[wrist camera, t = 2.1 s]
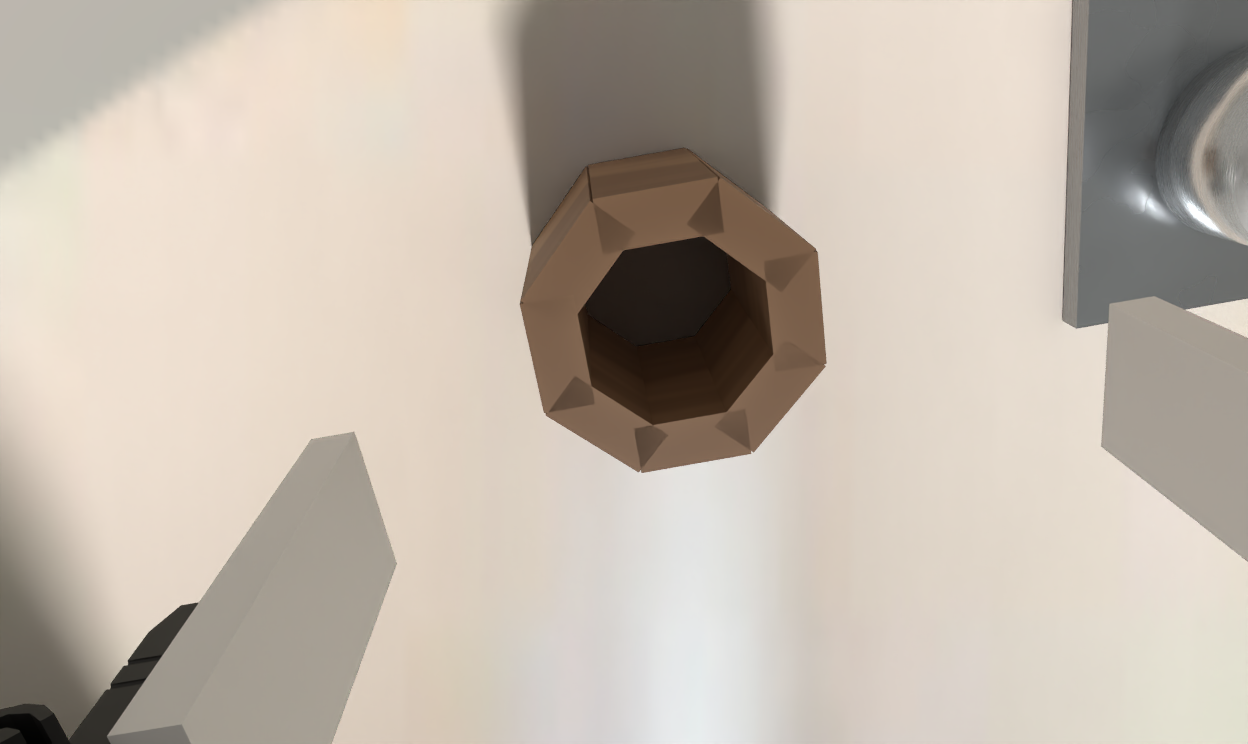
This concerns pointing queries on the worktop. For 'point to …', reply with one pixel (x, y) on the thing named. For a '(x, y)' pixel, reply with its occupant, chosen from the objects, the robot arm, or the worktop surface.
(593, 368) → the ring
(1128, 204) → the stand
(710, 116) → the worktop surface
